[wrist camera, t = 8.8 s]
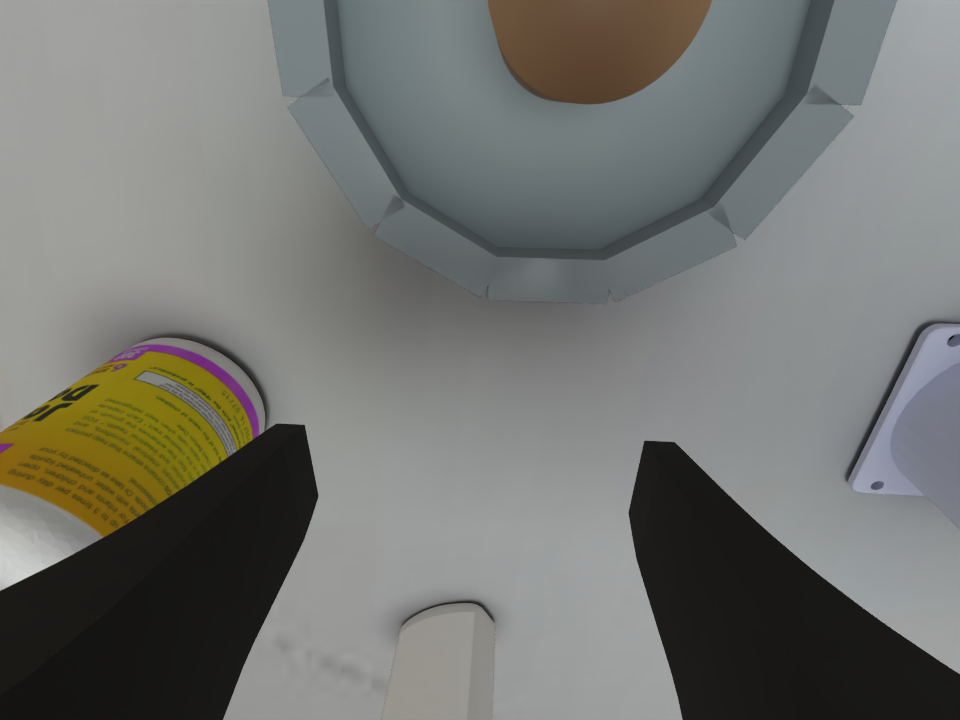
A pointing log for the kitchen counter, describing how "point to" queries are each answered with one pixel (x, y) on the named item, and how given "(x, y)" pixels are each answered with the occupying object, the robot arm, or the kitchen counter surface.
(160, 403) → the supplement bottle
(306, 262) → the kitchen counter surface
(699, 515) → the robot arm
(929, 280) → the kitchen counter surface
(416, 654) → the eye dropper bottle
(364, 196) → the slate dish
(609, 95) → the walnut cylinder
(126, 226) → the kitchen counter surface
